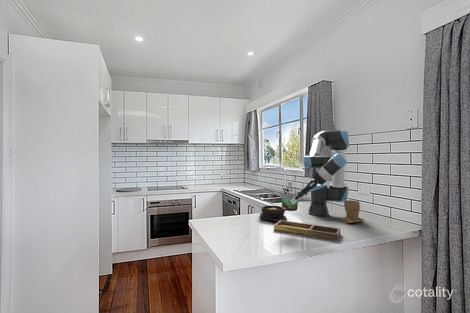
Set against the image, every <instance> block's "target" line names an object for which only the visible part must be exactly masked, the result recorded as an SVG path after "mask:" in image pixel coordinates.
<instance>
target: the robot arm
mask: <svg viewBox="0 0 470 313" xmlns="http://www.w3.org/2000/svg"><path fill="white" fill-rule="evenodd" d="M310 144H311V147H310V149H309V150H310V151H309V153H308V155H305V156H303V167H304V168H306V169H318V170H317V171H316V172H315V173H313V174H312V178H313V180H311V181H310V182H309V183H308V184H306V186H305V187H303V189H301V190H300V191H299V192H297V193H298V194H297V193H296V194H297V195H296V196H295V197H294V198H293V199H292V200H290V202H291V203H292V204H294V203H296V202H297V201H298V202H299V201H301V200H302V198H304V197H305V196H308V194H309V192H310V205H309V208H308V214H309V215H311V216H316V217H328V216H329V214H330V211H329V208H328V205H327V202H332V203H344V201H345V200H348V196H349V195H348V194H349V186H347V183H346V182H345V166H346V165H347V163H348V161H347V158H346V157H345V155H346V153H345V152H346V151H347V150H348V147H350V140H349V132H348V131H347V130H344V129H343V130H341V129H338V130H335V129H334V130H322V131H320V132H318V133H316V134H315V135H314V136H313V137H312V139H311V143H310ZM324 147H325V148H326V147H328V148H329V150H330V151H331V155H323V149H324ZM330 179H331V182H330V183H329V185H328V184H327V181H328V180H330Z"/></svg>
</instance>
